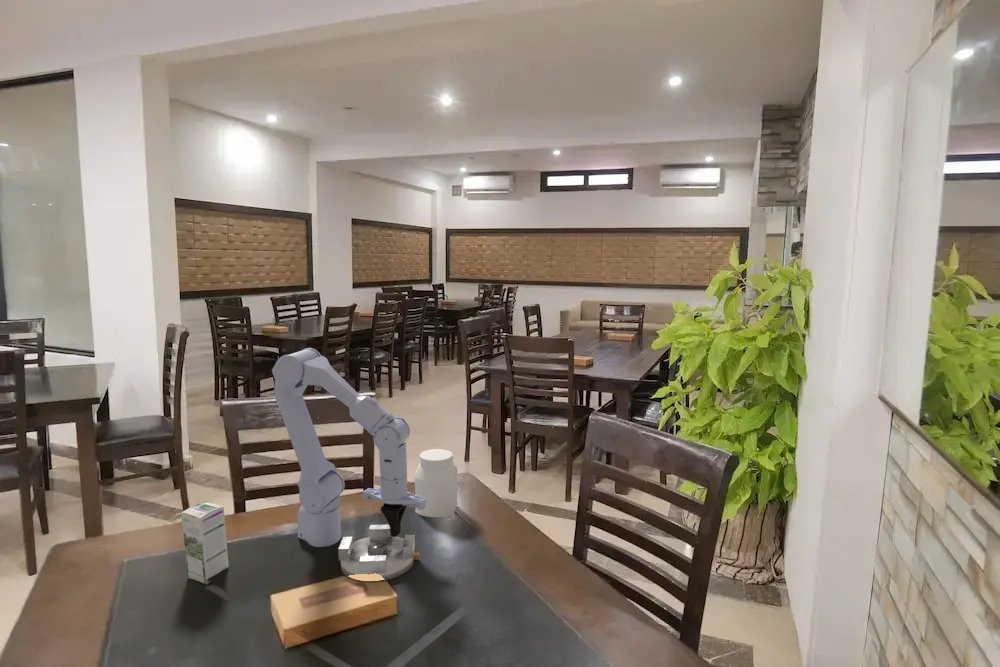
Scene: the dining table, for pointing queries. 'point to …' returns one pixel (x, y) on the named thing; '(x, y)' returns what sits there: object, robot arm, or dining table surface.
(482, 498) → the dining table surface
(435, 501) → the jar
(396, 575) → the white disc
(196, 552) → the syrup box
